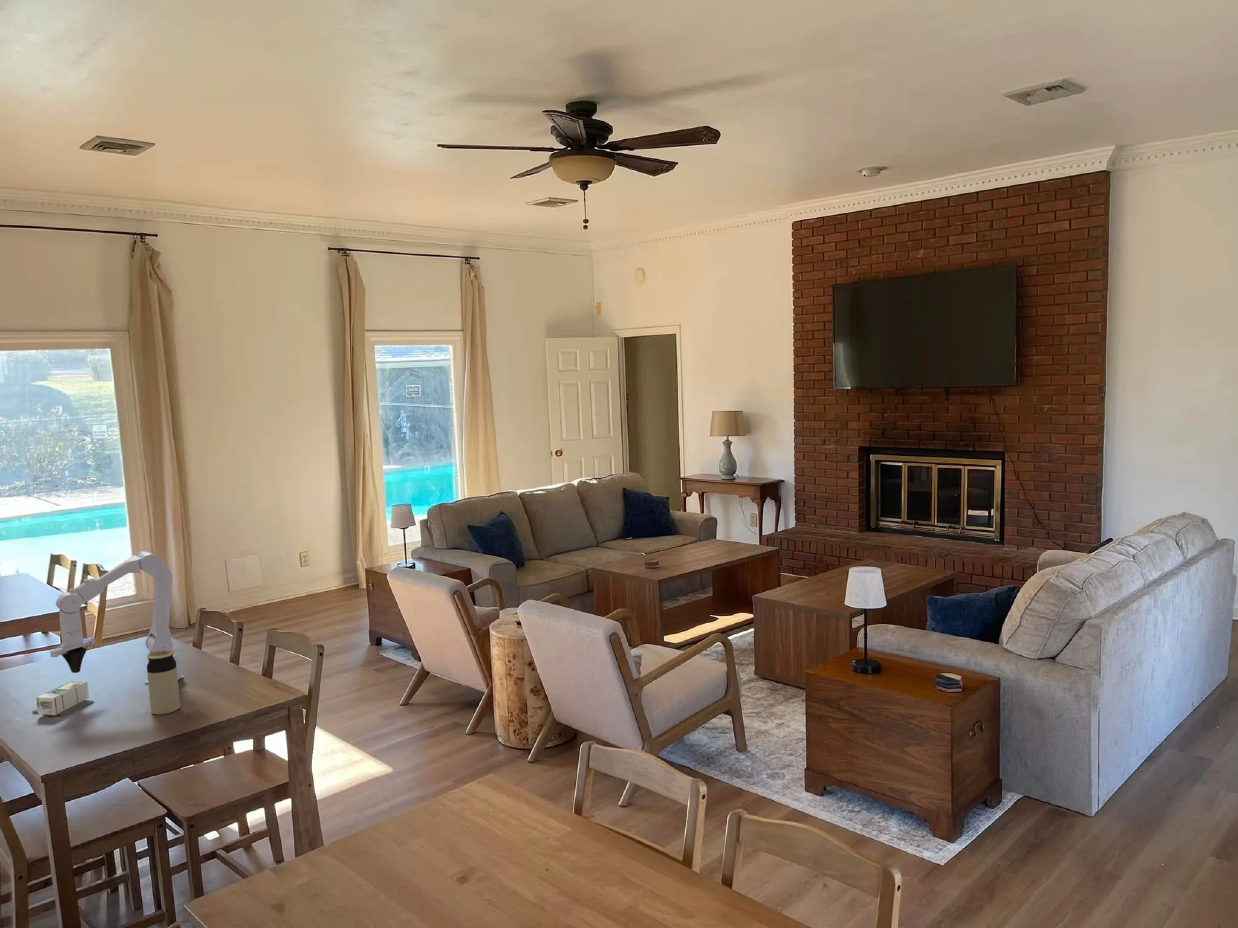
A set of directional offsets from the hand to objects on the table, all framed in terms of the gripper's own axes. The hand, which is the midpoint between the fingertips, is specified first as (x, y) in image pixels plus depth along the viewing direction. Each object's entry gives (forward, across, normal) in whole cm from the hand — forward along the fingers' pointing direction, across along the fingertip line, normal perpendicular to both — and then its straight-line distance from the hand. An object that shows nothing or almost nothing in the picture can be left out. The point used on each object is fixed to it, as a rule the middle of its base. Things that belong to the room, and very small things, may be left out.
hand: (75, 671), depth 281 cm
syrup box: (+6, -1, 0) cm, 6 cm away
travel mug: (+10, +1, +35) cm, 36 cm away
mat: (+9, +6, 0) cm, 11 cm away
